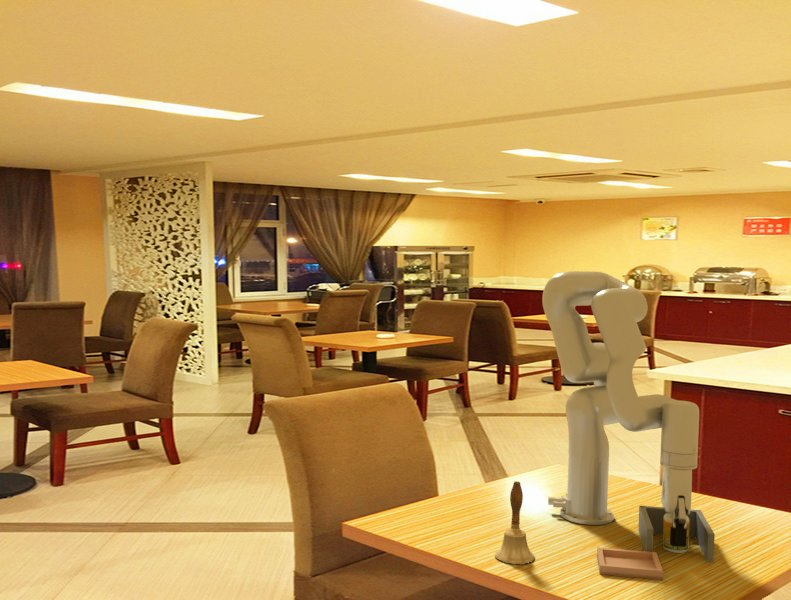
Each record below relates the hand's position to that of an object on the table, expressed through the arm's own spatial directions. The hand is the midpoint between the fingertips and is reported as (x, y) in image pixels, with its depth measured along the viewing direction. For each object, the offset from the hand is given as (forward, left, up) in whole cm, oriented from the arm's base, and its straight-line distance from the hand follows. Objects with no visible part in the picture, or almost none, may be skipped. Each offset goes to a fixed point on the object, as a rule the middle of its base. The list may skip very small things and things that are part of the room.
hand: (675, 539), depth 171 cm
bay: (0, +2, -2) cm, 3 cm away
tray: (-11, -13, -2) cm, 17 cm away
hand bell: (-34, -13, -2) cm, 36 cm away
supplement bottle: (0, 0, -2) cm, 2 cm away
